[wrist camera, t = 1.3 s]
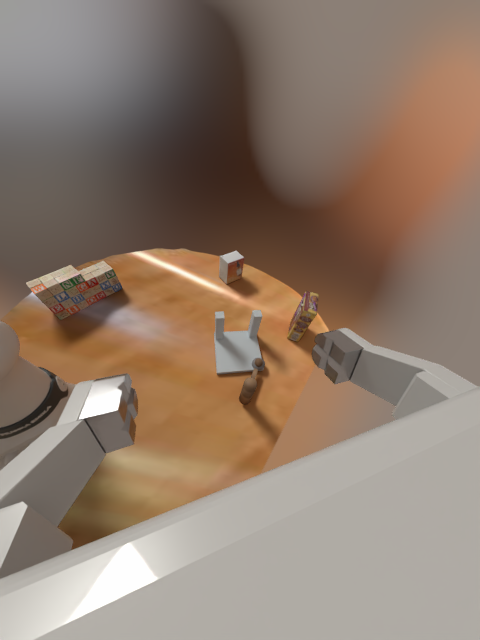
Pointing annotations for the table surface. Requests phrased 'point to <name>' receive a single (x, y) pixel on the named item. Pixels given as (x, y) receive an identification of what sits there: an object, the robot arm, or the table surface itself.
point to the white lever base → (237, 346)
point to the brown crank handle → (250, 384)
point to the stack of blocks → (75, 288)
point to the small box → (231, 267)
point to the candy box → (303, 316)
